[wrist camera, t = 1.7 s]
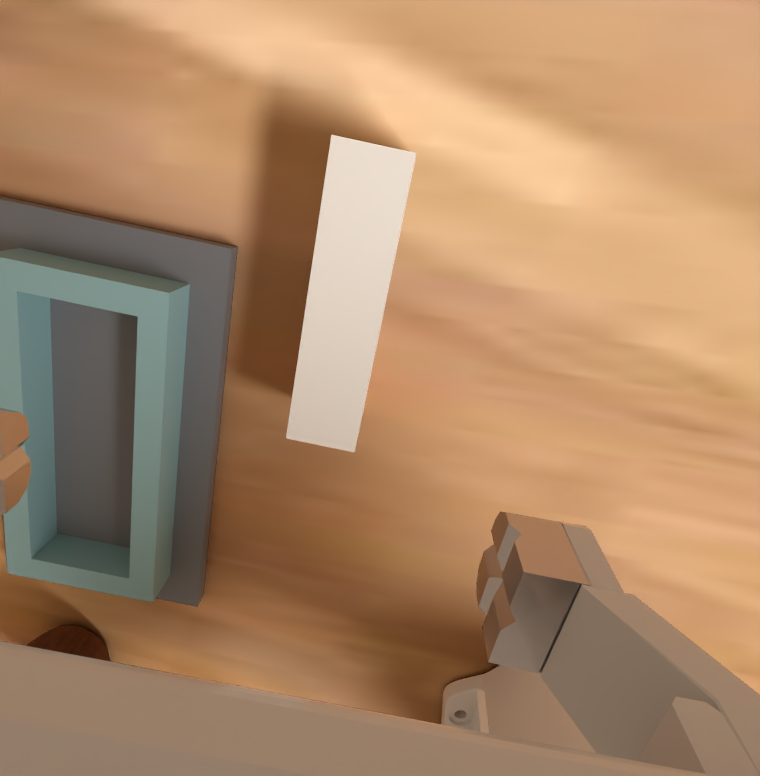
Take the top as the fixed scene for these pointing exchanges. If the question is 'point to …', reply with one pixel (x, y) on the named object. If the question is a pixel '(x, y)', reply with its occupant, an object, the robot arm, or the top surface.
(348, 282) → the long cream plank
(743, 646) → the top surface
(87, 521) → the cradle jig
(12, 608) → the top surface
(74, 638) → the wooden figurine
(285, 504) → the top surface
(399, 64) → the top surface
